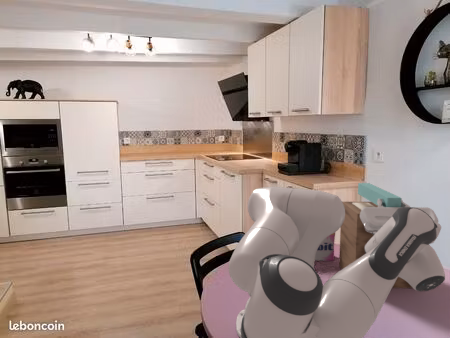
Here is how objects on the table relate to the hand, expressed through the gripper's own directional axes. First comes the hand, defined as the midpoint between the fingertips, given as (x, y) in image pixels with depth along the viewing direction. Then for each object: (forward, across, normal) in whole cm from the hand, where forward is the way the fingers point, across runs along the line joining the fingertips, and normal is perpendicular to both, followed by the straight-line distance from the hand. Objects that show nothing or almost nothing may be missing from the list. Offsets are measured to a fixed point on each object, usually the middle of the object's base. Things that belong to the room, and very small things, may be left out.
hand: (388, 200), depth 105 cm
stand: (-1, +4, -37) cm, 37 cm away
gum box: (+14, -19, -46) cm, 51 cm away
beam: (+7, 0, -7) cm, 10 cm away
